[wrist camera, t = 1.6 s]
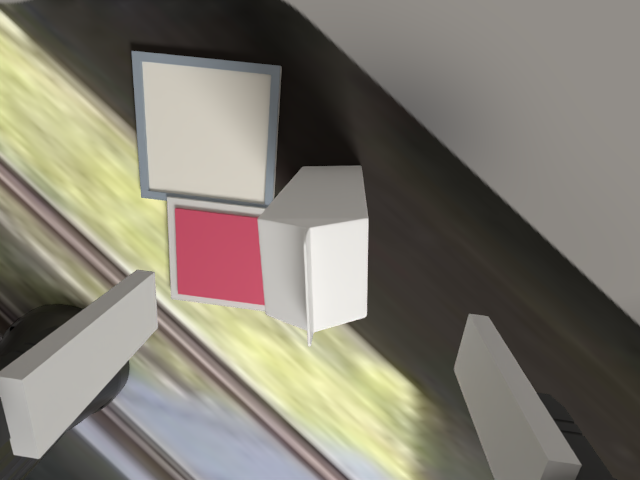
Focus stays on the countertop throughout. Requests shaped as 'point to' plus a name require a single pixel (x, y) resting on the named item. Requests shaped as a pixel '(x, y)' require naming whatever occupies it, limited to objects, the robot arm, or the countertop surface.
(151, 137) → the marked square
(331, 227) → the milk
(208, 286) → the ink pad
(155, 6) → the countertop surface
